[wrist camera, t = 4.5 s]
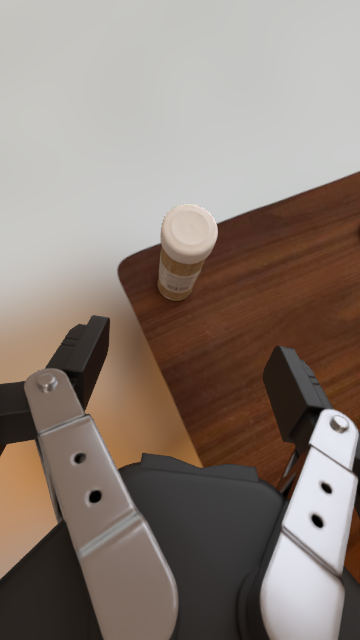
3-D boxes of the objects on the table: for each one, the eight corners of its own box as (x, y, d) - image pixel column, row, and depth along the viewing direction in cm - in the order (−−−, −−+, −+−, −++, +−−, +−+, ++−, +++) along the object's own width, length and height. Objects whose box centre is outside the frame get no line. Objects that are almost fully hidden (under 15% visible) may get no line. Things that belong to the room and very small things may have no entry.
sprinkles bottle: (197, 276, 34) (227, 215, 21) (184, 307, 33) (207, 263, 20) (165, 262, 34) (174, 192, 21) (150, 293, 33) (151, 239, 20)
